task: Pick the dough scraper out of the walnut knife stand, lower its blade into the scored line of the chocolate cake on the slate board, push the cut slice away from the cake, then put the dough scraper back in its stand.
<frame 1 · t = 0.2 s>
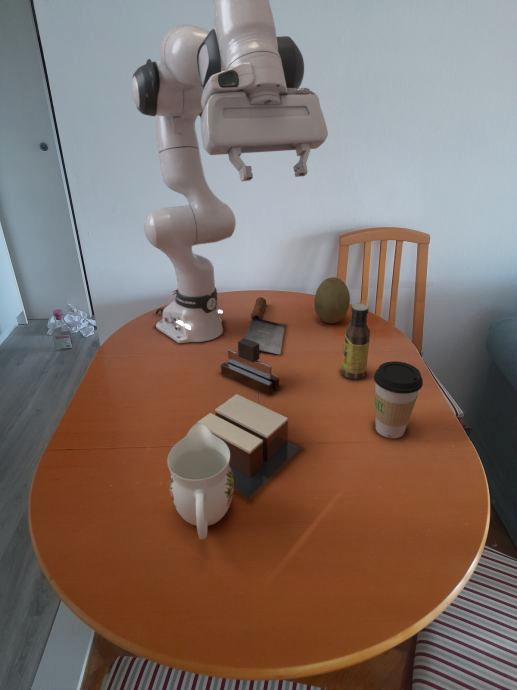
hand: (274, 177, 70), 54 cm above the table, tool tilted 30°, fingers open, 8 cm apart
meat cleaver: (266, 327, 143), on the table
knife stand: (249, 380, 116), on the table
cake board: (238, 451, 93), on the table
fruit: (330, 321, 146), on the table
coffee cup: (389, 429, 99), on the table
cake slice: (230, 456, 91), point 1 cm above the table, touching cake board
pitcher: (204, 516, 79), on the table
sauce bottle: (353, 374, 118), on the table
dough scraper: (249, 380, 116), on the table
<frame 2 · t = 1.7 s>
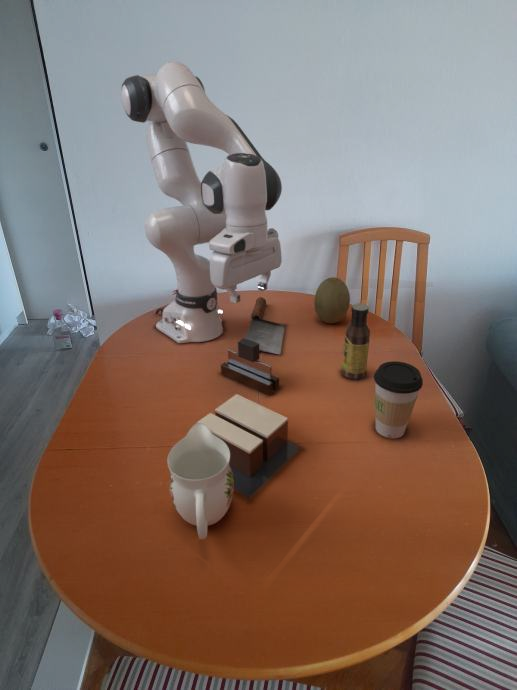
hand: (249, 295, 102), 25 cm above the table, tool pointing down, fingers open, 8 cm apart
nothing on the table moved.
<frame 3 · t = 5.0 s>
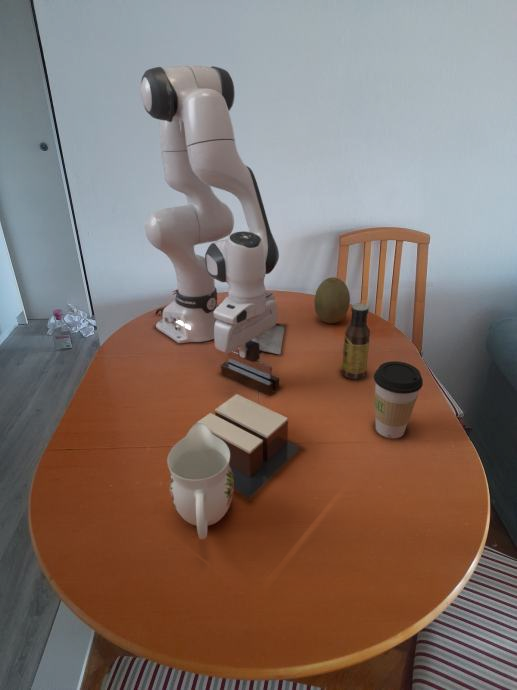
hand: (248, 353, 112), 8 cm above the table, tool pointing down, fingers closed on dough scraper, 2 cm apart
dough scraper: (249, 380, 116), on the table, touching gripper
everything else where it was.
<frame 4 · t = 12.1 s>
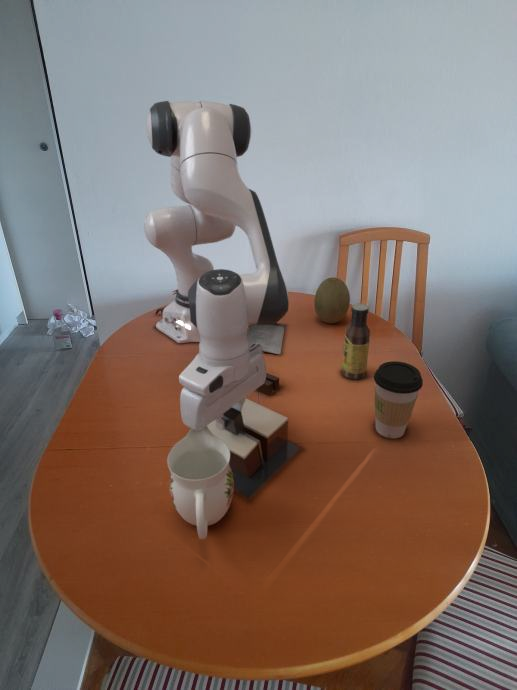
hand: (228, 422, 87), 10 cm above the table, tool pointing down, fingers closed on dough scraper, 3 cm apart
cake slice: (228, 456, 91), point 1 cm above the table, tilted 10°, touching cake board, dough scraper
dough scraper: (236, 449, 92), point 1 cm above the table, tilted 10°, touching cake slice, gripper
everything else where it was.
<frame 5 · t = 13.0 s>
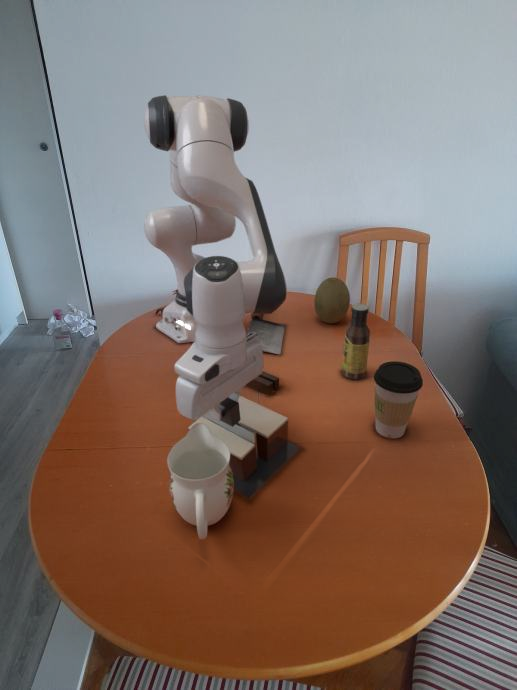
hand: (225, 412, 86), 12 cm above the table, tool pointing down, fingers closed on dough scraper, 2 cm apart
cake slice: (224, 459, 90), point 1 cm above the table, tilted 5°, touching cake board
dough scraper: (230, 444, 90), point 3 cm above the table, touching gripper
everything else where it was.
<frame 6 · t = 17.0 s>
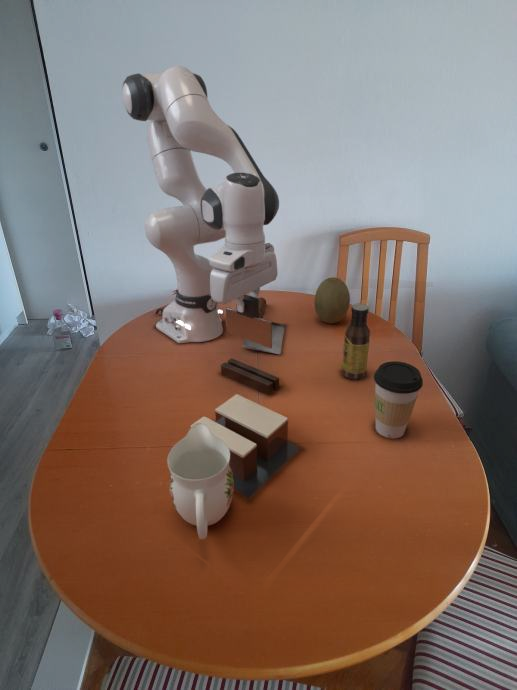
hand: (247, 308, 106), 21 cm above the table, tool pointing down, fingers closed on dough scraper, 2 cm apart
cake slice: (224, 459, 90), point 1 cm above the table, touching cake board
dough scraper: (248, 339, 110), point 12 cm above the table, touching gripper
everything else where it was.
when the fingers open (8 cm above the table, at t = 19.9 s): dough scraper stays where it is, on the table.
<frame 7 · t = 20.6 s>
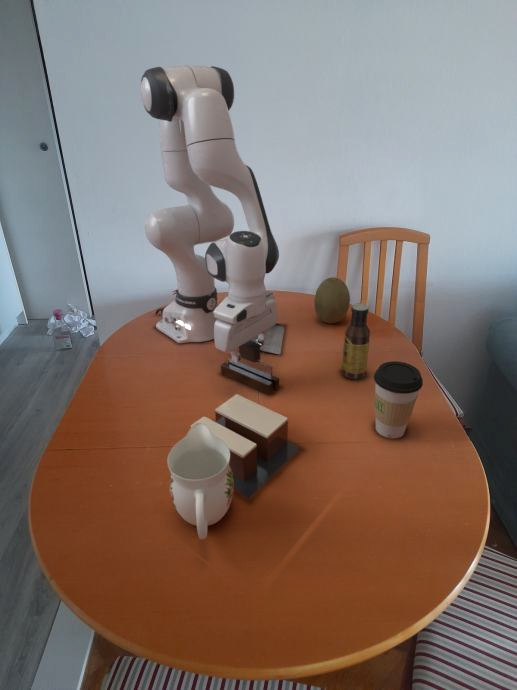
hand: (248, 352, 112), 8 cm above the table, tool pointing down, fingers open, 8 cm apart
dough scraper: (250, 380, 116), on the table
everything else where it was.
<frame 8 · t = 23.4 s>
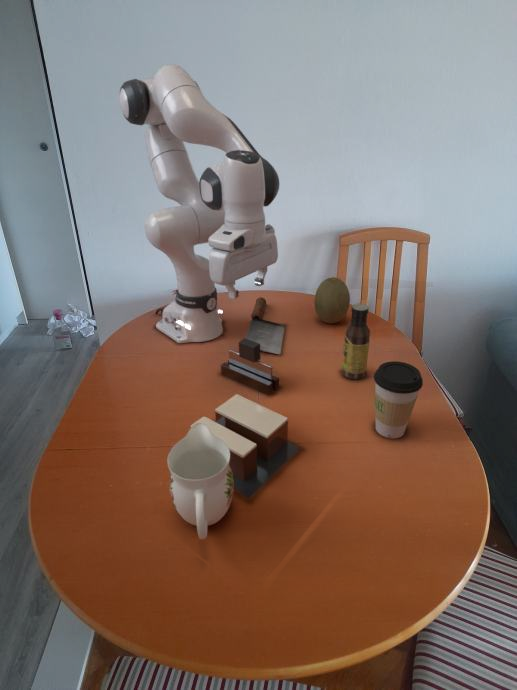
hand: (246, 291, 104), 25 cm above the table, tool pointing down, fingers open, 8 cm apart
nothing on the table moved.
at the end: cake slice 1.8 cm from the target spot, point 0.6 cm above the table; cake slice tilted 0°; dough scraper 0.2 cm off-centre on the knife stand, point 0.0 cm above the knife stand's base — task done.
